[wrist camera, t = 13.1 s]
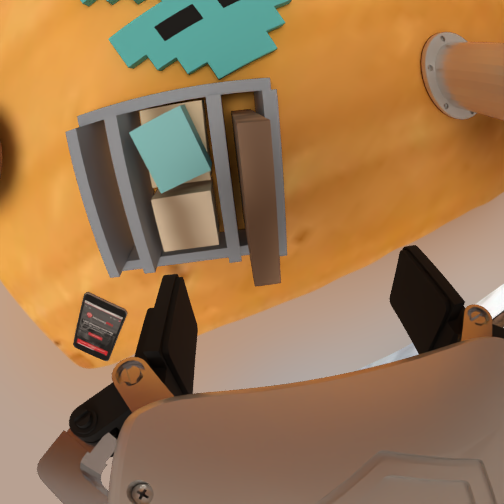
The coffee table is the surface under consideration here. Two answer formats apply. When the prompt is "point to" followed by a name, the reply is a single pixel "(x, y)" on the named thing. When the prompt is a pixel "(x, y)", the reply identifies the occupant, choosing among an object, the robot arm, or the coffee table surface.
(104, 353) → the smartphone
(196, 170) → the offcut teal
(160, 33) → the alien figure
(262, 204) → the brown block
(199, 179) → the offcut oak wide
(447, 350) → the robot arm
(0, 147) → the wooden sphere
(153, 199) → the offcut beech
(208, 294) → the coffee table surface
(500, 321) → the wooden fragment
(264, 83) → the rack
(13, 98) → the coffee table surface
